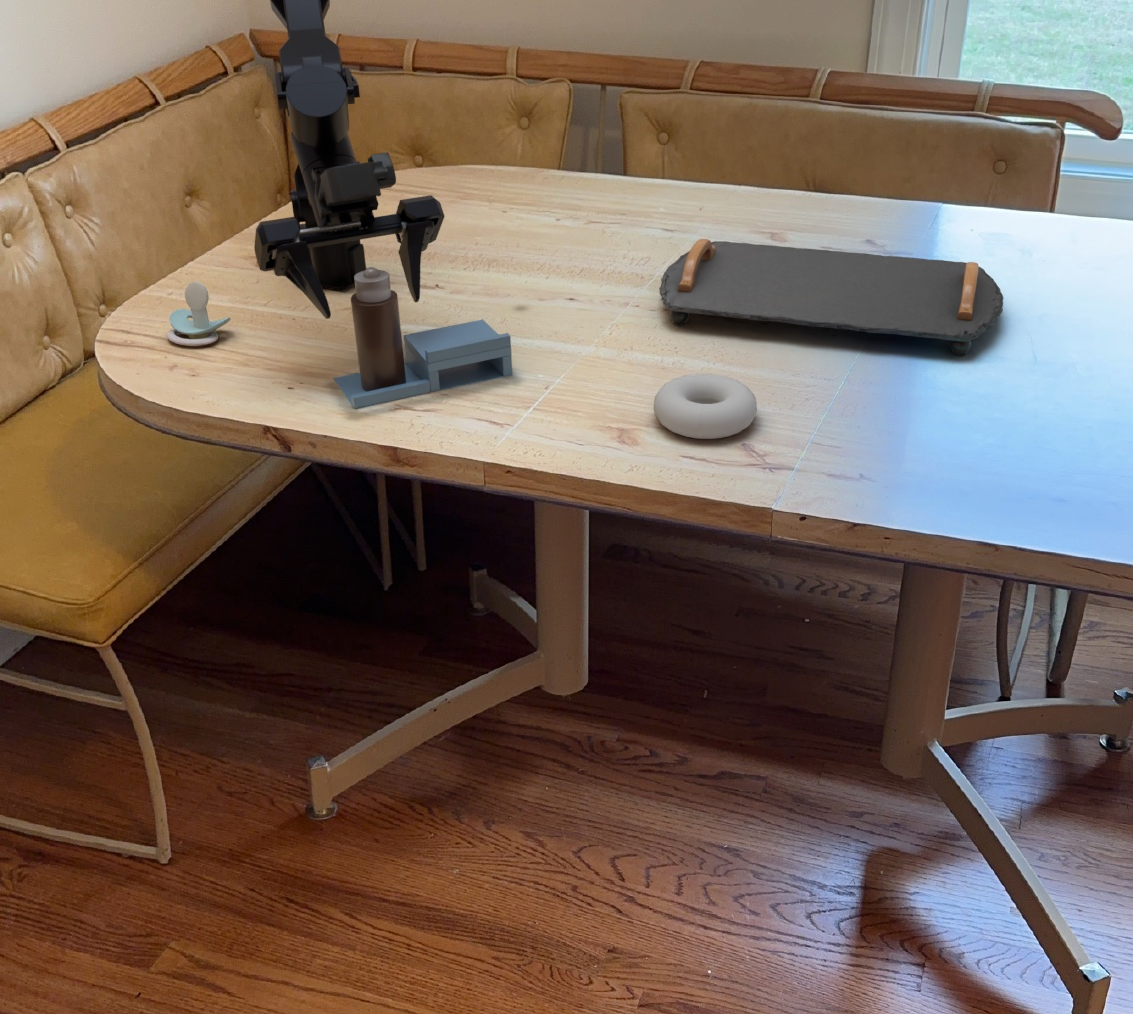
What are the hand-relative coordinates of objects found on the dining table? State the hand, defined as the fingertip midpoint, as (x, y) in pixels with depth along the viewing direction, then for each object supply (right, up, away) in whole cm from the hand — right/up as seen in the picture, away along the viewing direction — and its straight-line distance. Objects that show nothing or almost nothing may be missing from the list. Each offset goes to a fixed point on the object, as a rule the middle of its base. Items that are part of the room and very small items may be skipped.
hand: (373, 308), depth 121 cm
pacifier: (-23, -1, +17) cm, 29 cm away
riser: (+4, -7, +6) cm, 10 cm away
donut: (+33, -12, -3) cm, 35 cm away
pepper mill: (0, -7, +4) cm, 8 cm away
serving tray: (+49, +3, +20) cm, 54 cm away
